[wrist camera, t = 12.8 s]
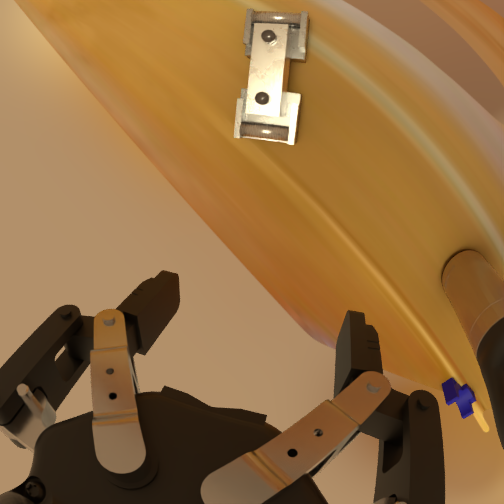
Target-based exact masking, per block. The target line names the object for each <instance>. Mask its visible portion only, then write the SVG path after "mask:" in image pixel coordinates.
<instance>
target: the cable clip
mask: <svg viewBox="0 0 504 504" xmlns="http://www.w3.org/2000/svg"><path fill="white" fill-rule="evenodd" d="M442 388H443V392H444V396H445V400H446V404H448V405H450V404H452V403H454V402H456V404H457V405H458V407H459V410H460V413H461V416H462V418H463V419H464V418H466V417H468V416H469V415H471V414H473V413H474V412H473V408H472V403H473V402H475V401H476V398H475V395H474V392H473V391H472V390H471V389H470V387H469V386H468V385H467V384H465V385H463V386H462V387H461V386H460V385H459V384H458V383H457V382H456V381H455V380H454V379H453V378H450V379H449V380H447V381H446V382H444V383H442Z"/></svg>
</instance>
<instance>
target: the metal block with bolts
mask: <svg viewBox="0 0 504 504" xmlns="http://www.w3.org/2000/svg"><path fill="white" fill-rule="evenodd" d="M292 37H293V35H292V32H291V30H290V28H289V26H288V24H270V23H254V33H253V42H252V51H251V61H250V71H249V81H248V91H247V102H246V112H245V113H247V114H258V115H268V116H277V117H284V115H285V106H286V97H287V87H288V78H289V68H290V58H291V48H292Z"/></svg>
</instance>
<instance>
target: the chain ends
mask: <svg viewBox="0 0 504 504" xmlns="http://www.w3.org/2000/svg"><path fill="white" fill-rule="evenodd" d="M309 22H310V20H309V15H308V12H306V11H302V12H301V14H300V13H287V12H266V11H254V10H253V9H247V14H246V22H245V31H244V39H243V43H244V44H245V45H246V50H245V56H247V57H248V58H251V51H252V42H253V33H254V23H270V24H288V26H289V28H290V30H291V32H292V35H293V37H292V48H291V58H290V61H293V62H302V63H306V54H307V43H308V33H309ZM247 91H248V89H241V98H237V108H236V119H235V131H234V138H242V137H243V138H253V139H261V140H270V141H277V142H284V143H288V144H291V145H294V144H295V143H296V142H297V134H298V126H299V118H300V109H301V100H302V95H301V94H297V93H289V92H287V97H286V106H285V115H284V117H277V116H268V115H258V114H247V113H245V112H246V102H247Z"/></svg>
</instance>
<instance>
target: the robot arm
mask: <svg viewBox="0 0 504 504" xmlns="http://www.w3.org/2000/svg"><path fill="white" fill-rule="evenodd" d="M442 286H443V289H444V291H445V293H446V295H447V296H448V298H449V300H450V302H451V304H452V306H453V308H454V310H455V312H456V314H457V316H458V318H459V321H460V323H461V325H462V327H463V329H464V331H465V333H466V335H467V338H468V340H469V342H470V344H471V347H472V349H473V351H474V354H475V356H476V358H477V361H478V364H479V366H480V369H481V373H482V376H483V378H484V381H485V384H486V387H487V390H488V394H489V398H490V401H491V406H492V410H493V414H494V419H495V423H496V427H497V432H498V435H499V438H500V442H501V444H502V447H503V449H504V281H503V279H502V278H501V277H500V276H499V274H498V273H497V272H496V271H495V270H494V268H493V267H492V266H491V265H490V264H489V263H488V262H487V261H486V260H485V259H484V257H483V256H482V255H481V254H480V253H478V252H476V251H473V250H467V251H463V252H461V253H459V254H457V255H456V256H454V257H453V258H452V259H451V260H450V261H449V263H448V264H447V265H446V267H445V269H444V272H443V275H442ZM179 303H180V292H179V276H178V274H176V273H172V272H168V271H164V270H163V271H161V272H160V273H159V274H158V275H157V276H156V277H155V278H150V279H148V280H146V281H144V282H142V283H141V284H140V285H139V286H138V287H137V288H136V289H135V290H134V291H133V292H132V294H130V295H129V296H128V297H127V298H126V299H125V300H124V301H123V302H122V303H121V304H120V305H119V306H118V307H117V308H116V309H106V310H103V311H101V312H99V313H98V314H97V315H96V316H95V317H91V316H82V315H81V313H80V310H79V308H78V307H77V306H75V305H64V306H62V307H59V308H58V309H57V310H56V311H55V312H53V314H51V315H50V317H48V318H47V319H46V321H44V323H43V324H41V325H40V326H39V328H38V329H36V331H34V333H33V334H32V335H31V336H30V337H29V338H28V339H27V340H26V341H25V342H24V343H23V344H22V345H21V347H19V348H18V349H17V351H16V352H15V353H14V354H13V355H12V356H11V357H10V358H9V359H8V360H7V361H6V363H5V364H4V365H3V366H2V367H1V368H0V430H1V431H2V432H3V433H4V434H5V436H7V437H8V438H9V439H10V440H11V441H12V442H13V443H14V444H15V445H17V446H18V447H20V448H24V449H26V448H27V449H29V450H30V451H31V452H33V453H34V458H33V464H32V467H31V471H30V474H29V476H28V478H27V479H26V480H25V481H24V482H23V483H22V484H21V485H19V486H18V487H16V488H14V489H12V490H10V491H8V492H5V493H3V494H1V495H0V504H328V502H327V501H326V499H325V498H324V496H323V495H322V493H321V492H320V490H319V489H318V487H317V485H316V484H315V482H314V481H313V479H312V478H314V477H315V476H316V475H317V474H318V473H320V472H321V471H322V470H323V469H324V468H325V467H326V466H327V465H328V464H329V463H330V462H331V461H332V460H333V459H334V458H335V457H336V456H337V455H338V454H339V453H340V452H342V451H343V450H344V449H345V448H346V447H347V446H348V445H349V444H350V443H351V442H352V441H353V440H354V439H355V438H356V437H357V436H358V435H359V434H360V433H361V432H362V433H365V434H367V435H370V436H372V437H375V438H377V439H379V453H378V466H377V477H376V487H375V494H374V502H373V504H445V469H444V452H443V439H442V430H441V421H440V413H439V406H438V402H437V400H436V398H435V397H434V396H433V395H432V394H431V393H429V392H427V391H425V390H416V391H414V392H412V393H411V394H410V396H408V395H406V394H403V393H401V392H398V391H396V390H394V389H392V388H391V385H390V382H389V380H388V379H387V378H386V377H385V376H384V375H383V369H382V360H381V352H380V345H379V338H378V333H377V332H376V330H375V328H374V327H373V326H372V325H366V324H365V315H364V313H362V312H356V311H351V310H348V311H347V313H346V316H345V319H344V322H343V325H342V327H341V330H340V333H339V336H338V340H337V344H336V363H335V384H334V399H333V400H331V401H329V400H325V401H324V402H322V403H321V404H320V405H318V406H317V407H316V408H315V409H313V410H312V411H311V412H310V413H308V414H307V415H306V416H304V417H303V418H302V419H300V420H299V421H298V422H296V423H295V424H294V425H292V426H291V427H290V428H288V429H287V430H285V431H284V432H283V433H282V432H281V431H279V430H278V429H277V428H275V427H273V426H272V425H270V424H268V423H266V422H265V421H266V417H267V415H264V414H259V413H255V412H251V411H247V410H243V409H233V408H216V407H211V406H208V405H207V404H205V403H203V402H201V401H200V400H198V399H196V398H194V397H193V396H191V395H189V394H187V393H184V392H182V391H179V390H176V389H173V388H170V387H167V386H164V387H163V389H162V391H161V392H143V393H140V389H139V384H138V379H137V374H136V368H135V362H134V358H133V356H134V355H135V353H136V352H137V353H139V354H142V355H146V353H147V352H148V350H149V349H150V348H151V346H152V345H153V344H154V342H155V341H156V339H157V338H158V337H159V335H160V334H161V333H162V331H163V330H164V328H165V327H166V326H167V324H168V323H169V321H170V320H171V319H172V317H173V316H174V315H175V313H176V312H177V310H178V308H179ZM63 346H64V347H65V350H64V352H63V353H62V354H61V355H60V356H59V357H58V359H57V360H56V361H55V356H56V354H57V353H58V352H59V350H60V349H61V348H62V347H63ZM89 364H91V388H92V403H93V411H91V412H88V413H85V414H82V415H80V416H77V417H74V418H71V419H68V420H65V421H62V422H59V423H56V424H54V423H55V421H56V413H55V412H56V410H57V409H58V407H59V406H60V404H61V403H62V401H63V400H64V399H65V397H66V396H67V395H68V393H69V392H70V390H71V388H73V386H74V385H75V383H76V382H77V380H78V379H79V378H80V376H81V375H82V374H83V372H84V371H85V370H86V368H87V367H88V365H89Z"/></svg>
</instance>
